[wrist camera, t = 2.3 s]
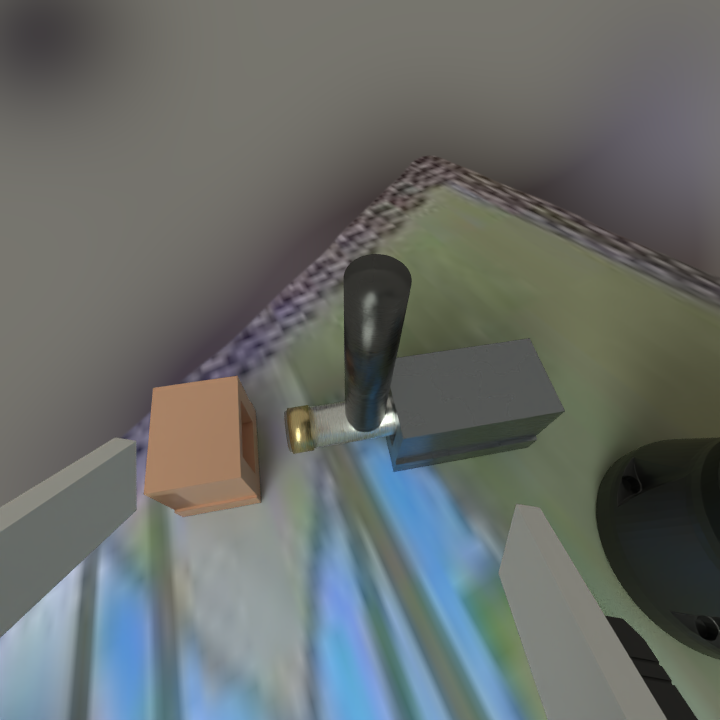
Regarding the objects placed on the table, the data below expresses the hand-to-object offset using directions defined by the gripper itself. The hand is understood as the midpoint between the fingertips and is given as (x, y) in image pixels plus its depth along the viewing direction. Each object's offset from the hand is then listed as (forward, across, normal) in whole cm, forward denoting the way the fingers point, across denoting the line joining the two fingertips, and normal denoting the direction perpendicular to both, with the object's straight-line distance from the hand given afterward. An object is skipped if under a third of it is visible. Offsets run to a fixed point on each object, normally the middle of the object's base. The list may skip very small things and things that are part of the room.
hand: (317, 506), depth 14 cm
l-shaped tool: (+20, +5, -4) cm, 20 cm away
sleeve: (+22, +8, -4) cm, 24 cm away
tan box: (+17, -11, -9) cm, 22 cm away
